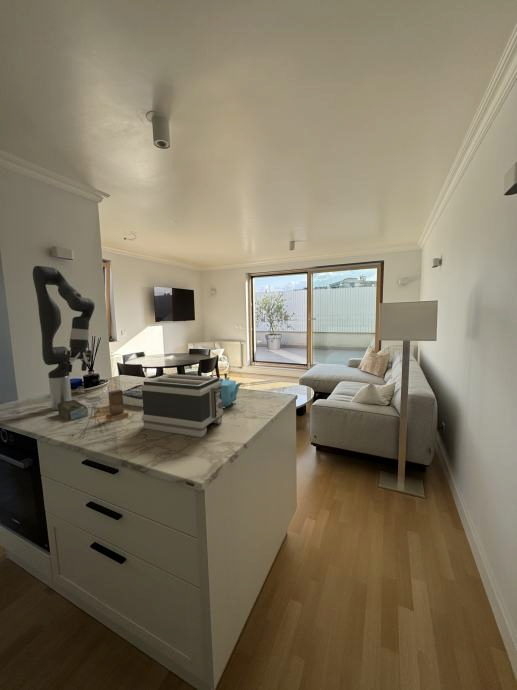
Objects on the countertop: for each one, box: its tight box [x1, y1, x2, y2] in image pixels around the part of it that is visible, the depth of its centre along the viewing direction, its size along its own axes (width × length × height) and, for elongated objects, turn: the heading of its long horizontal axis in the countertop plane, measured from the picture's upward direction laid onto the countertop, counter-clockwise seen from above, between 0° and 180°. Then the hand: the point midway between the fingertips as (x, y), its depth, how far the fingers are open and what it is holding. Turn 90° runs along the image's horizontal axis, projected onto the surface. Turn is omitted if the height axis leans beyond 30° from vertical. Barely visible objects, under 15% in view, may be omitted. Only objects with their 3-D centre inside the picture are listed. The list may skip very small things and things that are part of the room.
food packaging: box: [122, 384, 143, 408], centre depth 160 cm, size 25×8×23 cm
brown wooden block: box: [107, 389, 125, 417], centre depth 132 cm, size 3×5×13 cm, turn 143°
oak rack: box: [90, 403, 135, 425], centre depth 135 cm, size 16×13×5 cm
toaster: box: [141, 373, 224, 438], centre depth 124 cm, size 18×34×21 cm, turn 70°
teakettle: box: [219, 376, 244, 407], centre depth 153 cm, size 19×19×15 cm
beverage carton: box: [57, 399, 89, 421], centre depth 139 cm, size 8×19×7 cm, turn 50°
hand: (76, 371), depth 137 cm, fingers open, 8 cm apart
